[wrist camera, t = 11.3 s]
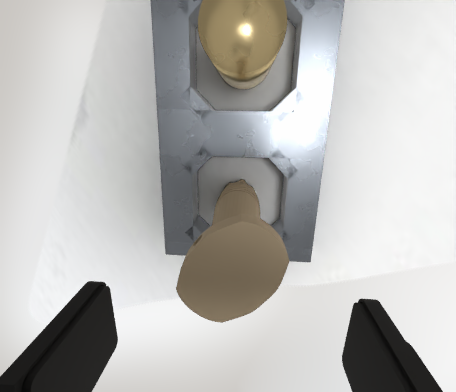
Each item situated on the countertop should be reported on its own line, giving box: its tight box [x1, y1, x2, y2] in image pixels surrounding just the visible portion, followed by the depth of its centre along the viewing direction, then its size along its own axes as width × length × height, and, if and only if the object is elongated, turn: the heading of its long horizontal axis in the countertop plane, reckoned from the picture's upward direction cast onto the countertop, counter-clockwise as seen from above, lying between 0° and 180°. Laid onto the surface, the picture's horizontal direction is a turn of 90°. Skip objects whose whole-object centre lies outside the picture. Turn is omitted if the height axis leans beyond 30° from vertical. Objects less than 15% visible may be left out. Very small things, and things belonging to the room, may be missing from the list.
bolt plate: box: [151, 0, 345, 262], centre depth 25 cm, size 25×15×3 cm, turn 179°
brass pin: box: [198, 0, 287, 89], centre depth 19 cm, size 5×5×10 cm
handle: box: [176, 179, 289, 322], centre depth 21 cm, size 5×6×15 cm
